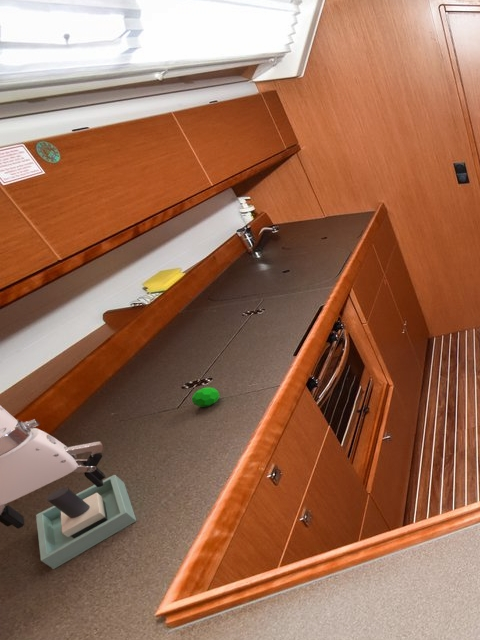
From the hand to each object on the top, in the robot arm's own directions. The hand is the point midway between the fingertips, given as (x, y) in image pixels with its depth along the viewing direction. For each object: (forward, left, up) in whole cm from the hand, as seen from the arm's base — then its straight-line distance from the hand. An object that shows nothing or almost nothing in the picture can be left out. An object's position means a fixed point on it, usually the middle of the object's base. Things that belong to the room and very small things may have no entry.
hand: (62, 501), depth 78 cm
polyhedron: (-7, +31, -7) cm, 33 cm away
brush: (0, 0, -7) cm, 7 cm away
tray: (0, 0, -7) cm, 7 cm away
